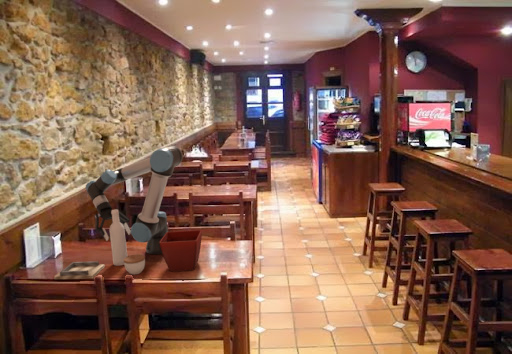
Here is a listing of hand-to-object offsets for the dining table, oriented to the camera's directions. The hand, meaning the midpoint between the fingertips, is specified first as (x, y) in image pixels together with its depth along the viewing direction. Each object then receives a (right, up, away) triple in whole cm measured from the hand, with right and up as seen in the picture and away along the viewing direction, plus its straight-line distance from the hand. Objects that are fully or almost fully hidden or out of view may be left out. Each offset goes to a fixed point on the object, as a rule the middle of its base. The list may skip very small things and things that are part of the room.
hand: (119, 236), depth 257 cm
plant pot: (+36, -15, -7) cm, 40 cm away
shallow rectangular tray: (-18, -18, -7) cm, 27 cm away
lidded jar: (+12, -17, -11) cm, 23 cm away
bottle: (0, -15, +4) cm, 16 cm away
